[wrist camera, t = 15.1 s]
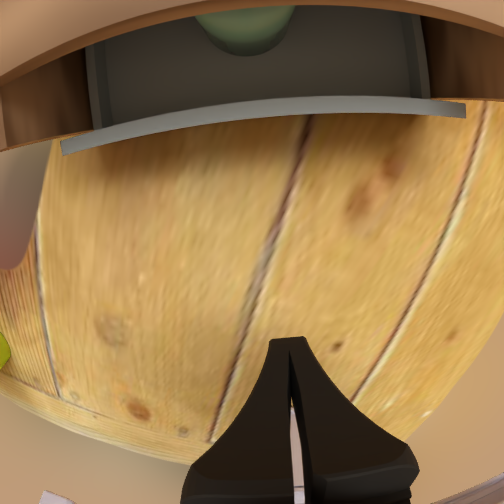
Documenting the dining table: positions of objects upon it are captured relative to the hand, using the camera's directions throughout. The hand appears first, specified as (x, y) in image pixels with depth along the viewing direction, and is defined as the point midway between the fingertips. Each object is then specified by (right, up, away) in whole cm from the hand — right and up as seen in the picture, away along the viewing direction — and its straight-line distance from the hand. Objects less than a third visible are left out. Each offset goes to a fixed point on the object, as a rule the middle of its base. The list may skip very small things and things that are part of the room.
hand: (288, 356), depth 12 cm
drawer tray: (-1, +18, +3) cm, 18 cm away
